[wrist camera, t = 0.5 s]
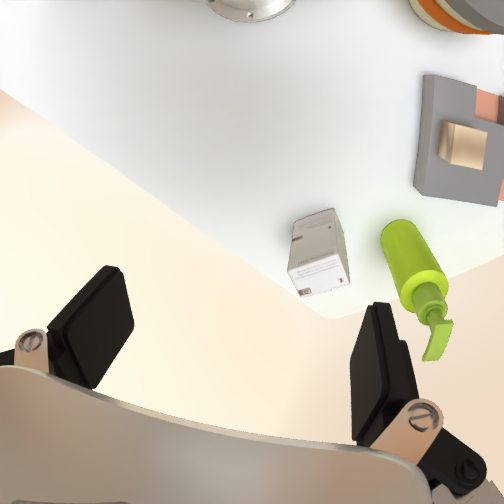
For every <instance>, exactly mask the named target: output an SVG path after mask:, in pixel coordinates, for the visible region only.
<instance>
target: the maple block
mask: <svg viewBox="0 0 504 504" xmlns="http://www.w3.org/2000/svg"><path fill="white" fill-rule="evenodd" d="M486 139H487V132H485V131H482V130H479V129H476V128H473V127H470V126H466V125H462V124H458V123H453V122H449V121H444V120H442V123H441V133H440V142H439V150H438V156H439V157H441V158H443V159H444V160H446V161H447V162H449V163H450V164H455V165H460V166H465V167H470V168H475V169H480V170H482V167H483V160H484V154H485V147H486Z"/></svg>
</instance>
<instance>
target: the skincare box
mask: <svg viewBox="0 0 504 504" xmlns="http://www.w3.org/2000/svg"><path fill="white" fill-rule="evenodd" d="M287 272H288V274H289V276H290V278H291V280H292V282H293V284H294V286H295V288H296V290H297V292H298V294H299V296H300V298H304V297H307V296H311V295H314V294H320V293H325V292H328V291H331V290H332V289H335V288H338V287H341V286H345V285H348V284H350V278H349V267H348V259H347V252H346V245H345V238H344V232H343V229H342V227H341V224H340V222H339V219H338V216H337V214H336V212H335V209H329V210H326V211H323V212H320V213H317V214H314V215H311V216H308V217H306V218H303V219H300V220H298V221H296V222H295V223H294V230H293V236H292V243H291V249H290V256H289V262H288V268H287Z"/></svg>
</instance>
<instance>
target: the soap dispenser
mask: <svg viewBox="0 0 504 504" xmlns="http://www.w3.org/2000/svg"><path fill="white" fill-rule="evenodd" d="M381 245H382V248H383V251H384V254H385V256H386V259H387V262H388V265H389V268H390V271H391V274H392V277H393V280H394V283H395V286H396V289H397V292H398V295H399V298H400V301H401V304H402V306H403V307H404V308H405V309H406V310H407V311H409V312H412V313H416V314H417V317H418V320H419V321H420V322H421V323H422V324H424V325H429V327H430V330H431V336H430V339H429V342H428V346H427V348H426V351H425V353H424V355H423V358H422V361H423V362H424V361H435V360H438V359H439V358H440V357H441V356H442V354H443V352H444V350H445V348H446V346H447V343H448V340H449V337H450V334H451V331H452V327H453V321H452V320H444V317H445V316H446V314H447V310H448V308H447V304H446V302H445V300H444V299H445V297H446V295H447V292H448V281H447V279H446V277H445V275H444V273H443V271H442V270H441V268H440V266H439V264H438V262H437V261H436V259H435V257H434V256H433V254H432V252H431V250H430V249H429V247H428V245H427V244H426V242H425V241H424V239H423V237H422V236H421V234H420V232H419V231H418V229H417V228H416V226H415V225H414V224H413V223H412V222H410V221H407V220H396V221H393V222H391V223H390V224H389V225H387V226H386V227H385V229H384V230H383V232H382V235H381Z"/></svg>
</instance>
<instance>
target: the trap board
mask: <svg viewBox="0 0 504 504" xmlns="http://www.w3.org/2000/svg"><path fill="white" fill-rule="evenodd" d="M442 120H444V121H449V122H453V123H458V124H462V125H466V126H470V127H473V128H476V129H479V130H482V131H485V132H487V139H486V147H485V154H484V160H483V167H482V170H480V169H475V168H470V167H465V166H460V165H455V164H450V163H449V162H447V161H446V160H444V159H443V158H441V157H439V156H438V150H439V142H440V133H441V123H442ZM413 186H414V187H415V188H416V189H417V190H418V191H419V193H420V194H421V195H422V196H429V197H437V198H444V199H451V200H457V201H464V202H470V203H476V204H482V205H488V206H493V207H497V203H498V200H501V201H504V97H502V96H497V95H494V94H491V93H488V92H485V91H482V90H479V89H477V86H475V85H471V84H468V83H464V82H461V81H457V80H453V79H449V78H445V77H441V76H437V75H423V97H422V113H421V126H420V136H419V146H418V155H417V163H416V170H415V177H414V184H413Z"/></svg>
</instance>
